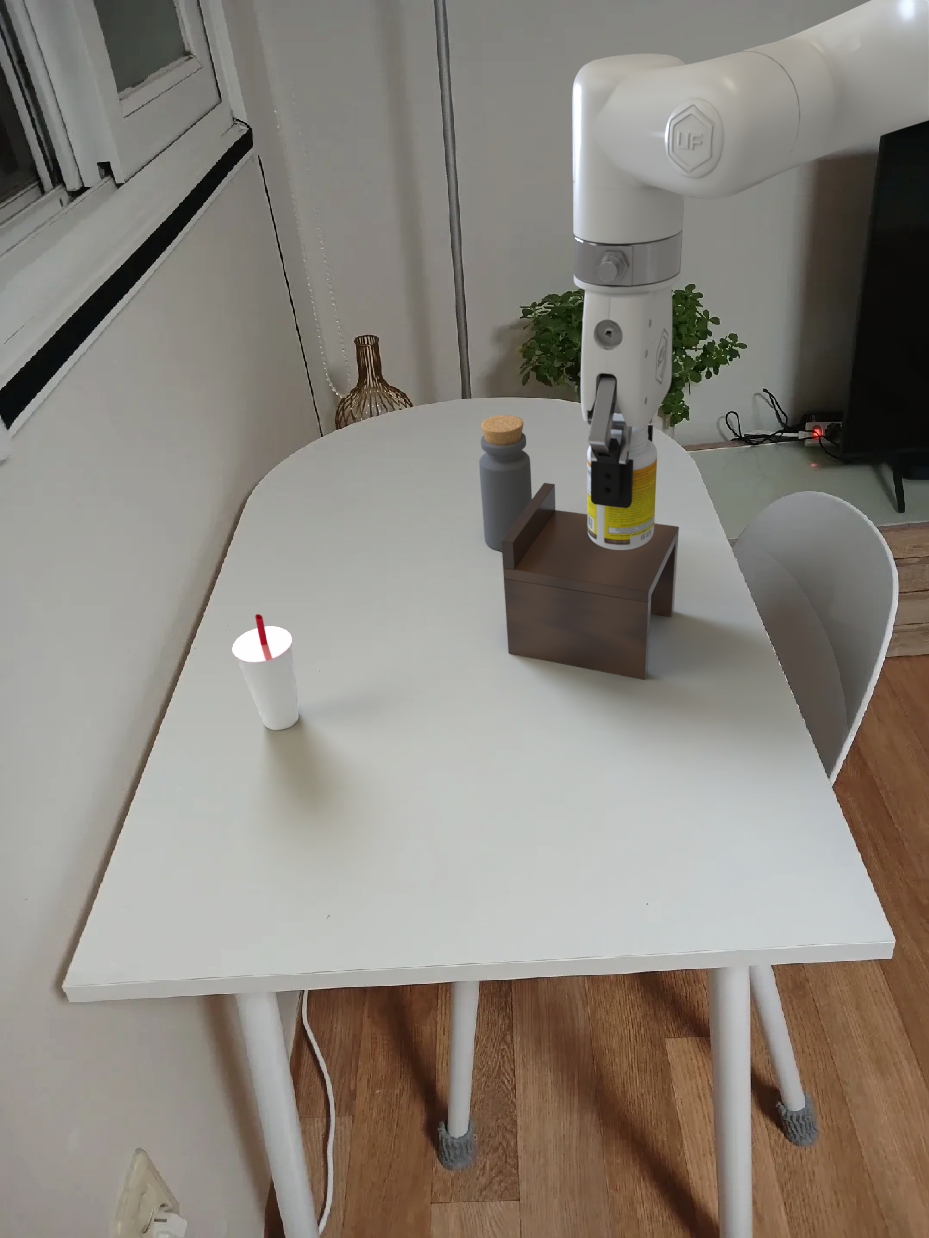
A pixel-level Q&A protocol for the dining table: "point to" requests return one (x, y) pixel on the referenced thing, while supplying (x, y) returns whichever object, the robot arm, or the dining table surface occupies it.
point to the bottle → (503, 476)
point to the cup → (269, 673)
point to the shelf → (583, 590)
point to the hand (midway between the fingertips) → (621, 484)
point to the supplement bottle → (637, 520)
